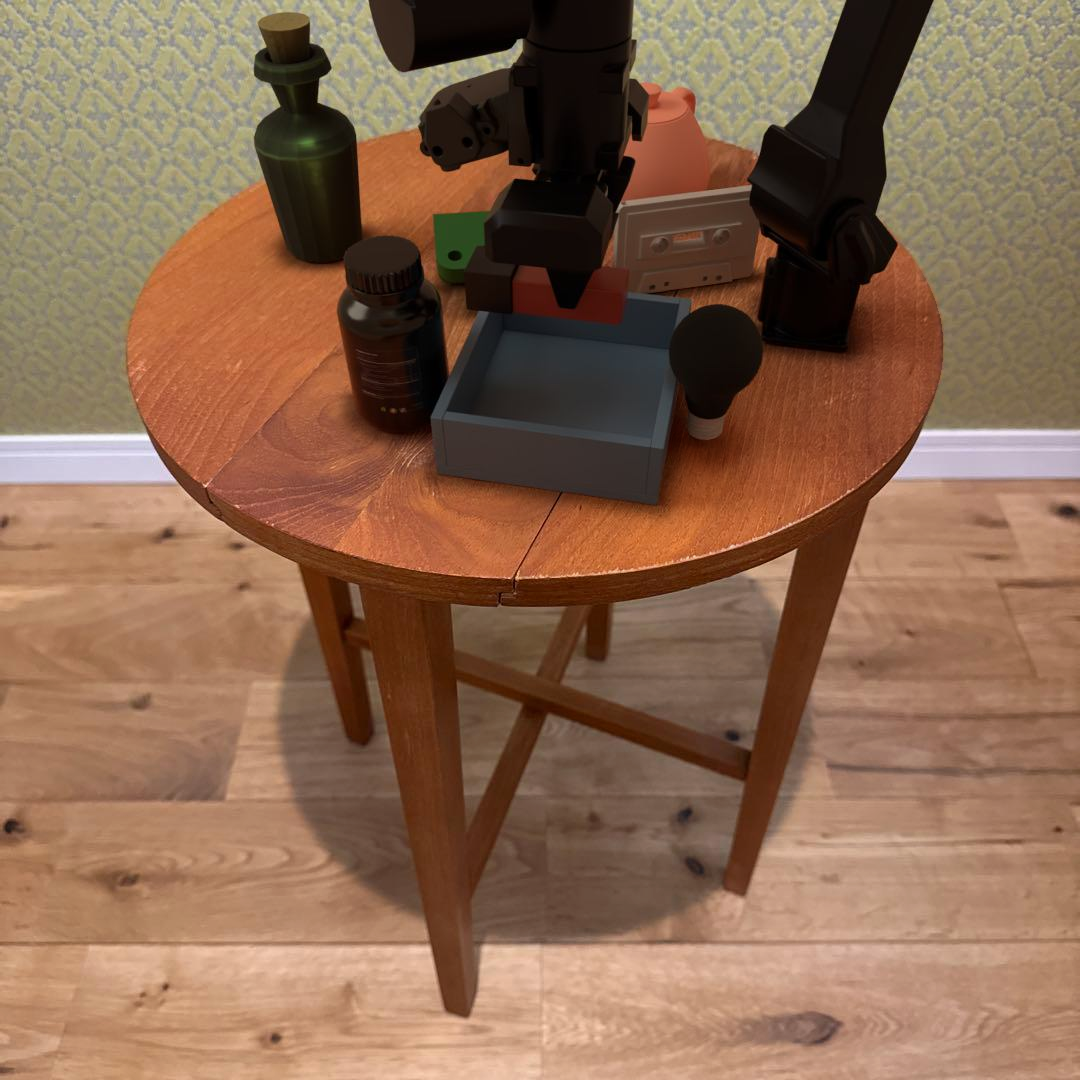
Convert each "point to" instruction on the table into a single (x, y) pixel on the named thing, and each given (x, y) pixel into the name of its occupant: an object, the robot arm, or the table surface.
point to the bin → (563, 402)
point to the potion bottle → (306, 146)
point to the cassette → (687, 261)
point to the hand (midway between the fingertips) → (571, 293)
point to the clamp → (457, 242)
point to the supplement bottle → (392, 334)
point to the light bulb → (714, 363)
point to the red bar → (542, 291)
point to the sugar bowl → (668, 148)
